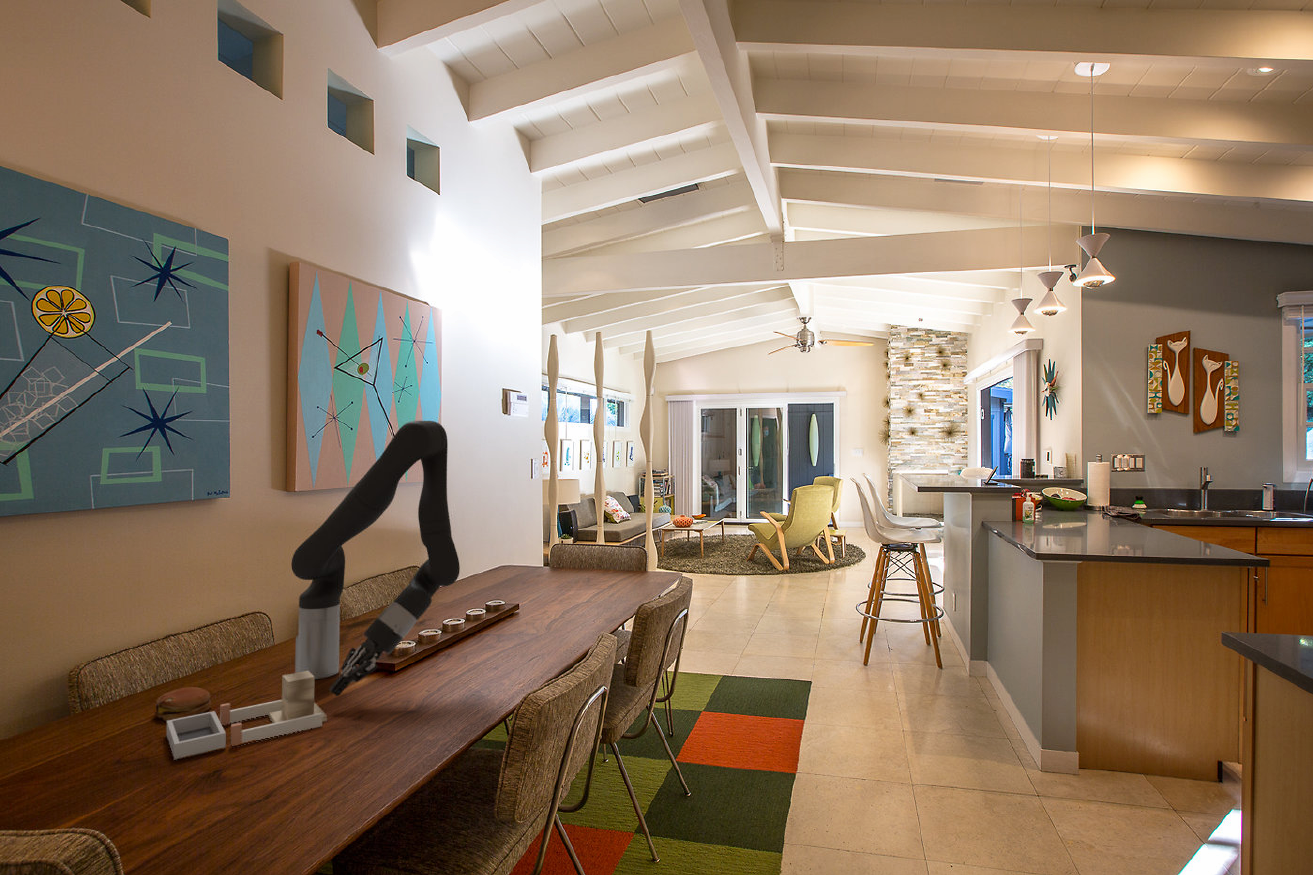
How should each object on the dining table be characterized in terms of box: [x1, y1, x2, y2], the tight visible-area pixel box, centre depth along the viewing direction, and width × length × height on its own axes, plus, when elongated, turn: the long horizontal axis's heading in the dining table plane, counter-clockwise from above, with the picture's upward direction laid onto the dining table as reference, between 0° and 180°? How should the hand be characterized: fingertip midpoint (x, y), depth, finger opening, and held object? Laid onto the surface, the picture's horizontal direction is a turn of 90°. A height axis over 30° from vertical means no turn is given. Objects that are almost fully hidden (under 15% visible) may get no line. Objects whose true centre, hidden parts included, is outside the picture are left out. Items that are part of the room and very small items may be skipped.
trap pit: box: [166, 710, 227, 761], centre depth 134 cm, size 8×14×3 cm, turn 40°
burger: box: [153, 686, 212, 722], centre depth 149 cm, size 10×9×5 cm
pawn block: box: [268, 671, 328, 724], centre depth 146 cm, size 9×9×9 cm
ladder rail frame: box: [219, 699, 323, 746], centre depth 142 cm, size 16×14×4 cm
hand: (333, 693), depth 150 cm, fingers closed
